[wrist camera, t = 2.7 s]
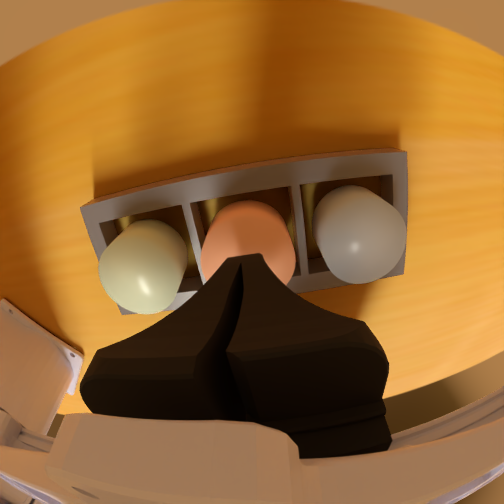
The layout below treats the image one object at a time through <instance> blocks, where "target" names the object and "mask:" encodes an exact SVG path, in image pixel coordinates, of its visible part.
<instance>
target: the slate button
mask: <svg viewBox="0 0 504 504" xmlns="http://www.w3.org/2000/svg"><path fill="white" fill-rule="evenodd" d="M312 234H313V237H314V239H315V241H316V244H317V246H318V248H319V250H320V252H321V254H322V256H323V258H324V260H325V262H326V264H327V266H328V268H329V269H330V271H331V272H332V273H333V274H334V275H335V276H336V277H337V278H339V279H341V280H343V281H345V282H348V283H353V284H364V283H369V282H373V281H375V280H377V279H379V278H381V277H383V276H384V275H386V274H387V273H388V272H390V271H391V270H392V269H393V268H394V267H395V265H396V264H397V263H398V261H399V260H400V258H401V256H402V254H403V251H404V249H405V245H406V238H407V232H406V226H405V222H404V220H403V218H402V216H401V214H400V213H399V212H398V211H397V209H395V208H394V207H393V206H392V205H390V204H389V203H388V202H386V201H385V200H383V199H382V198H380V197H379V196H377V195H376V194H374V193H373V192H372V191H370V190H368V189H367V188H364V187H362V186H358V185H345V186H341V187H338V188H336V189H334V190H332V191H330V192H329V193H327V194H326V195H325V196H324V197H323V198H322V199H321V200H320V202H319V203H318V205H317V207H316V208H315V211H314V213H313V217H312Z"/></svg>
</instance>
